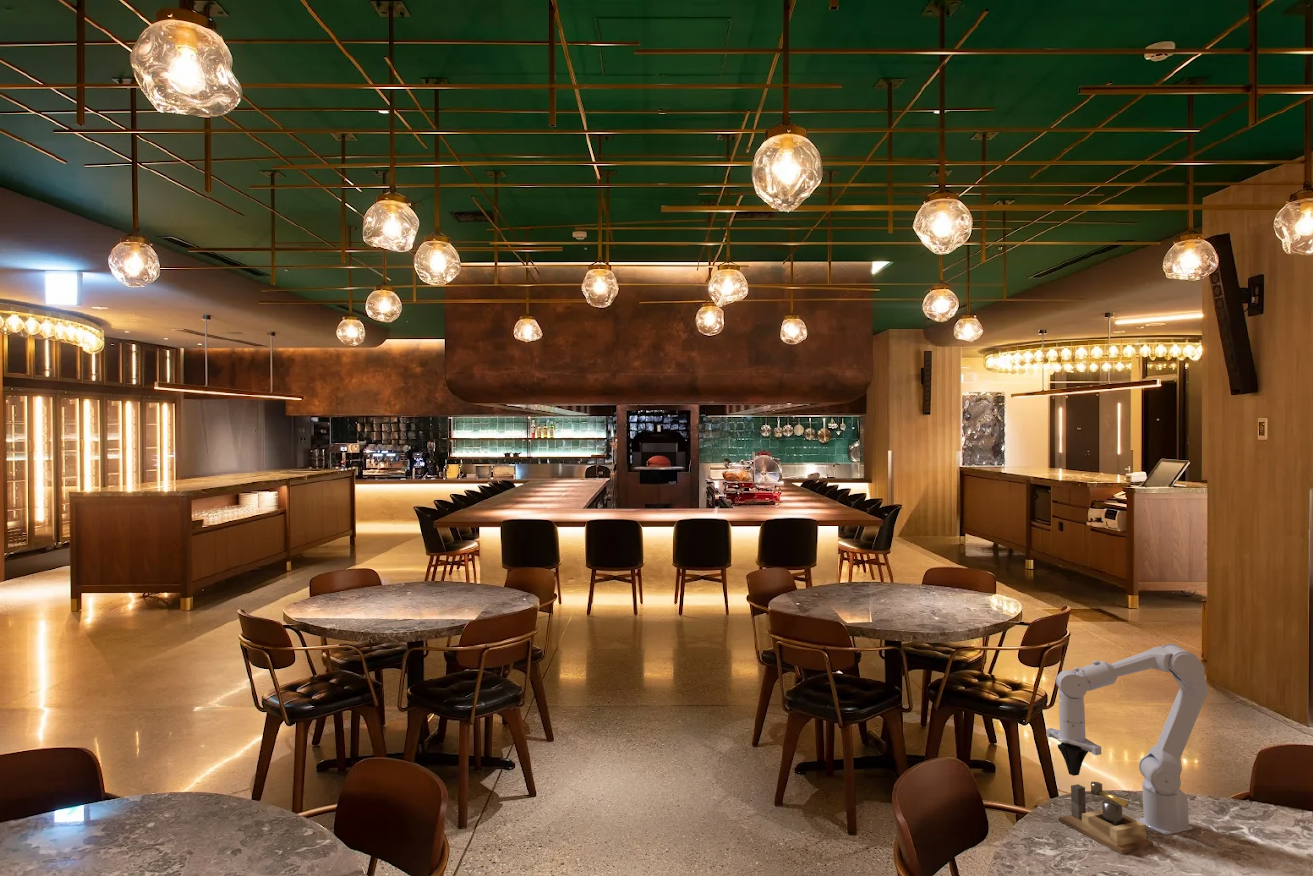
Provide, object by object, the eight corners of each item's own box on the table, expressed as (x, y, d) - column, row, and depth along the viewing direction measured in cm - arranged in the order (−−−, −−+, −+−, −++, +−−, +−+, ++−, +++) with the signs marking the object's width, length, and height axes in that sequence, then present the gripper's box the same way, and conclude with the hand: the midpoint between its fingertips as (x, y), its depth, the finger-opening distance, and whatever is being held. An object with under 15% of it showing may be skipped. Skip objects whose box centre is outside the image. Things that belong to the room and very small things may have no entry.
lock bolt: (1096, 791, 181) (1095, 781, 181) (1130, 806, 172) (1129, 795, 172) (1088, 793, 180) (1088, 782, 180) (1122, 808, 172) (1122, 797, 172)
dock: (1088, 815, 187) (1087, 781, 187) (1153, 847, 171) (1152, 809, 171) (1058, 821, 183) (1057, 787, 184) (1121, 854, 167) (1120, 816, 168)
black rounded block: (1126, 835, 174) (1125, 804, 175) (1116, 839, 172) (1115, 808, 173) (1109, 828, 178) (1108, 798, 178) (1099, 832, 176) (1098, 801, 176)
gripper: (1036, 713, 194) (1038, 766, 193) (1085, 730, 180) (1087, 787, 179) (1057, 710, 196) (1058, 762, 195) (1106, 727, 182) (1108, 783, 182)
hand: (1074, 774), depth 187 cm, fingers closed
